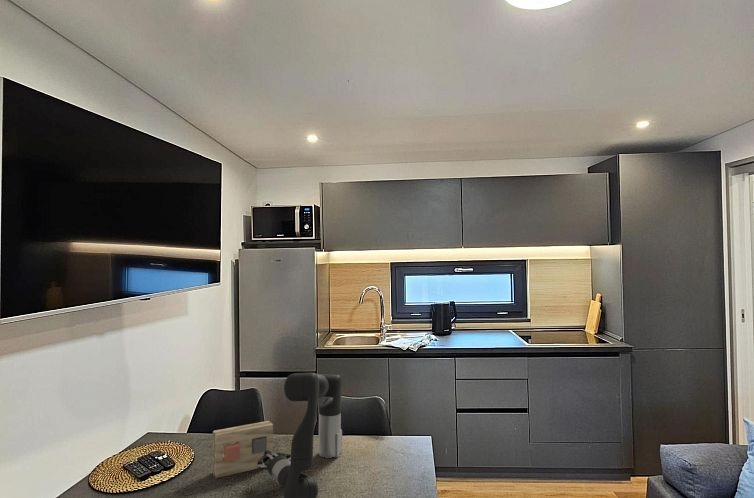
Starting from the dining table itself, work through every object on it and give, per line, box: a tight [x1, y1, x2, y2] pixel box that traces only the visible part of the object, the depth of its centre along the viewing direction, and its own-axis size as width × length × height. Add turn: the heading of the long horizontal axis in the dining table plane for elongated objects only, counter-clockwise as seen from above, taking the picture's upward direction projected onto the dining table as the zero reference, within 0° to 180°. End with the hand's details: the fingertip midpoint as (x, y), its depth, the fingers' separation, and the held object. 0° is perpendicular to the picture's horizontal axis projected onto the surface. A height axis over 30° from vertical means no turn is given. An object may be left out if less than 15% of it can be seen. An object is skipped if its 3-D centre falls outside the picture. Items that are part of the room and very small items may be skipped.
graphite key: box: [252, 436, 267, 454], centre depth 182 cm, size 3×5×5 cm, turn 122°
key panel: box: [212, 420, 274, 479], centre depth 181 cm, size 5×22×16 cm, turn 122°
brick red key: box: [223, 442, 240, 462], centre depth 174 cm, size 3×5×5 cm, turn 122°
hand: (266, 453), depth 174 cm, fingers closed
